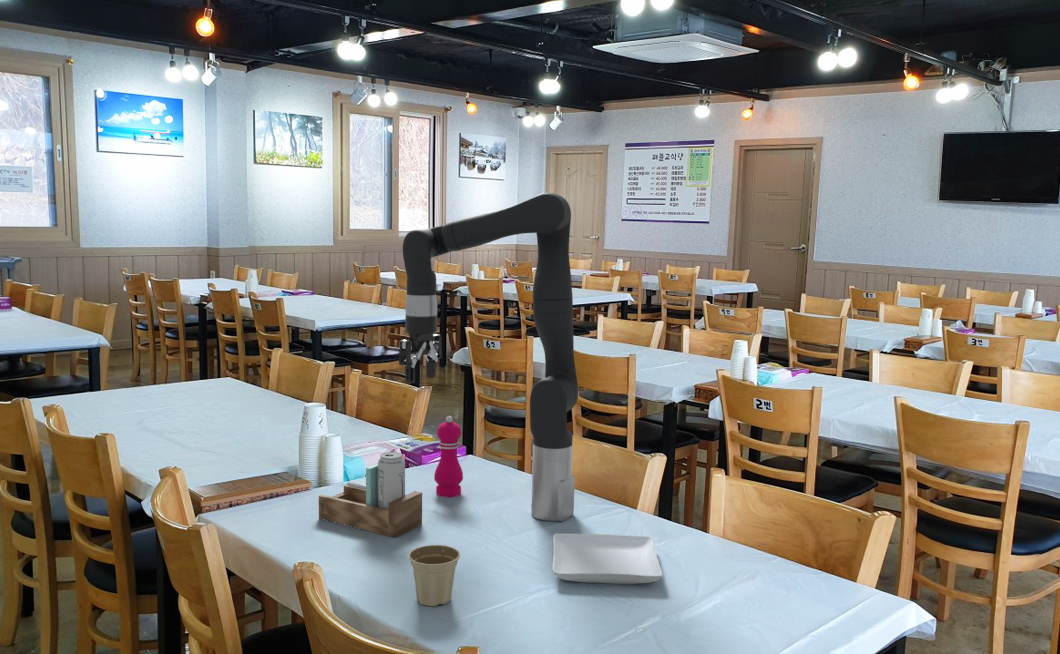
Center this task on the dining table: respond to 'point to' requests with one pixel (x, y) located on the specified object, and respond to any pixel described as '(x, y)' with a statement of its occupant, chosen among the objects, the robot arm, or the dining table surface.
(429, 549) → the flower pot
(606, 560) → the salad plate
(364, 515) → the wooden box
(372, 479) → the pusher
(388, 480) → the energy drink can
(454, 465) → the pepper mill
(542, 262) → the robot arm
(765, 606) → the dining table surface
